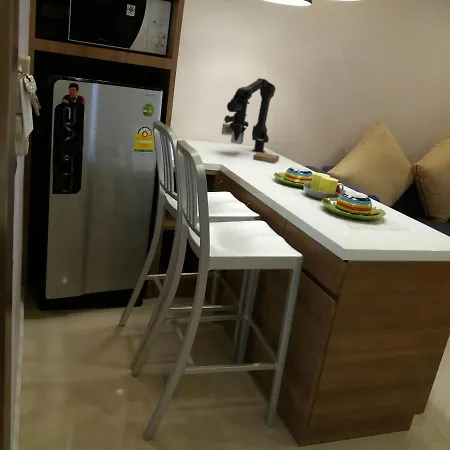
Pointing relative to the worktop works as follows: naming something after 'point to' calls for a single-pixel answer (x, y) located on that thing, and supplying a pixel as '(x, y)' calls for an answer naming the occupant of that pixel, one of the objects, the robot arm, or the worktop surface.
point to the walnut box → (266, 157)
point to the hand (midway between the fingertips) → (237, 140)
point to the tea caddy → (240, 138)
